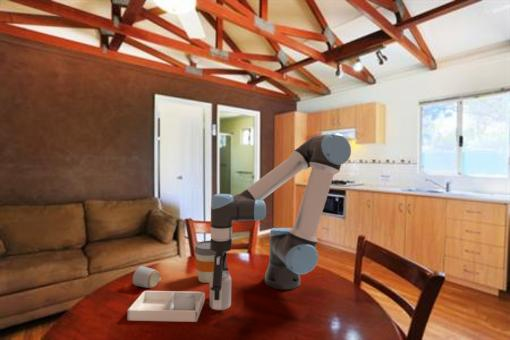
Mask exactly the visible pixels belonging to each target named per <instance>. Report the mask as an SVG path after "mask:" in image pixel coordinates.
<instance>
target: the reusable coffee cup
mask: <svg viewBox="0 0 510 340" xmlns="http://www.w3.org/2000/svg"><path fill="white" fill-rule="evenodd" d="M194 246H195V247H194V253H195V258H194V259H195V267H196V270H197V276H198V281H199V282H200V283H205V284H210V277H211V276H212V273H213V272H214V257H215V255H216V252H215V251H212V250H211V249H210V240H202V241H199V242H197V243H196V244H195V245H194Z"/></svg>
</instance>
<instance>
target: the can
mask: <svg viewBox="0 0 510 340" xmlns="http://www.w3.org/2000/svg"><path fill="white" fill-rule="evenodd" d="M213 274H214V272H213V273H212V276H211V277H210V283H209V308H211V310H215V311H224V310H227V309H229V308H230V307H231V305H232V276H231V275H230V272H229V271H223V272H222V282H221V288H222V296H221V309H213V290H211V287H212V286H213Z"/></svg>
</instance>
